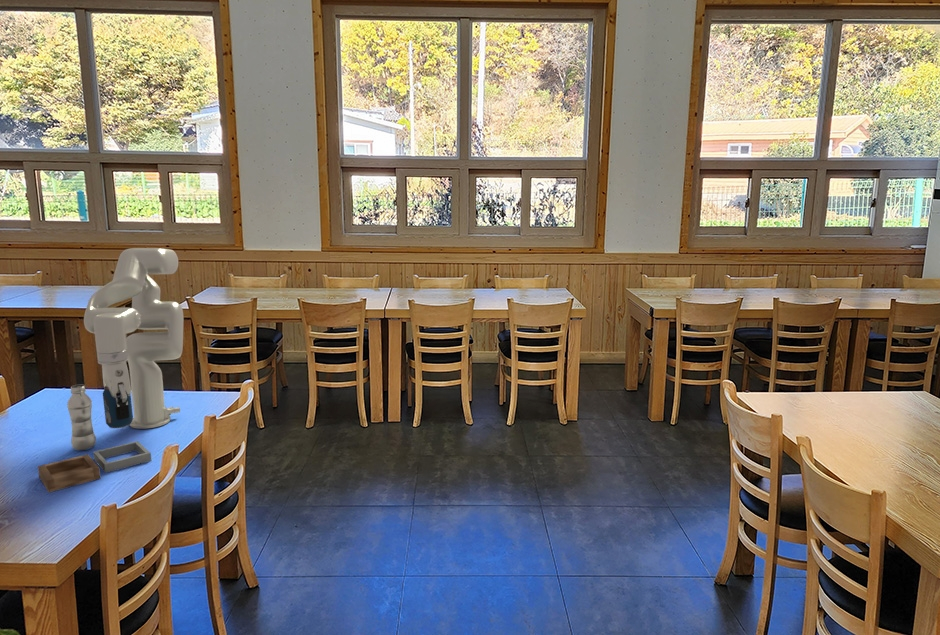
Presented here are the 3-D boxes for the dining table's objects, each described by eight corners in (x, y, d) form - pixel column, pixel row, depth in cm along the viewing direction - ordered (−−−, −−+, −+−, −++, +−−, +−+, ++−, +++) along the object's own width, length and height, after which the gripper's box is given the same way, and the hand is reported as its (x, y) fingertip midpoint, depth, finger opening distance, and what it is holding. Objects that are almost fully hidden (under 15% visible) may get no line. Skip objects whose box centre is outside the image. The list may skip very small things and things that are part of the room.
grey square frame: (138, 448, 188) (137, 441, 187) (151, 460, 179) (150, 452, 179) (94, 459, 179) (93, 451, 179) (105, 472, 171) (104, 464, 171)
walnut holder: (89, 464, 176) (87, 454, 175) (100, 478, 168) (99, 467, 167) (39, 477, 168) (37, 466, 167) (48, 492, 159) (47, 480, 159)
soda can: (138, 420, 181) (134, 382, 179) (125, 429, 175) (121, 389, 172) (114, 420, 181) (110, 381, 179) (101, 429, 174) (96, 389, 172)
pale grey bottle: (70, 454, 183) (63, 390, 179) (73, 446, 189) (66, 384, 185) (95, 450, 186) (89, 388, 182) (97, 442, 192) (91, 382, 188)
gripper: (136, 360, 170) (142, 420, 174) (118, 347, 182) (124, 403, 186) (106, 365, 165) (113, 427, 169) (89, 352, 177) (96, 409, 181)
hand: (118, 414), depth 177 cm, fingers closed on soda can, 6 cm apart
